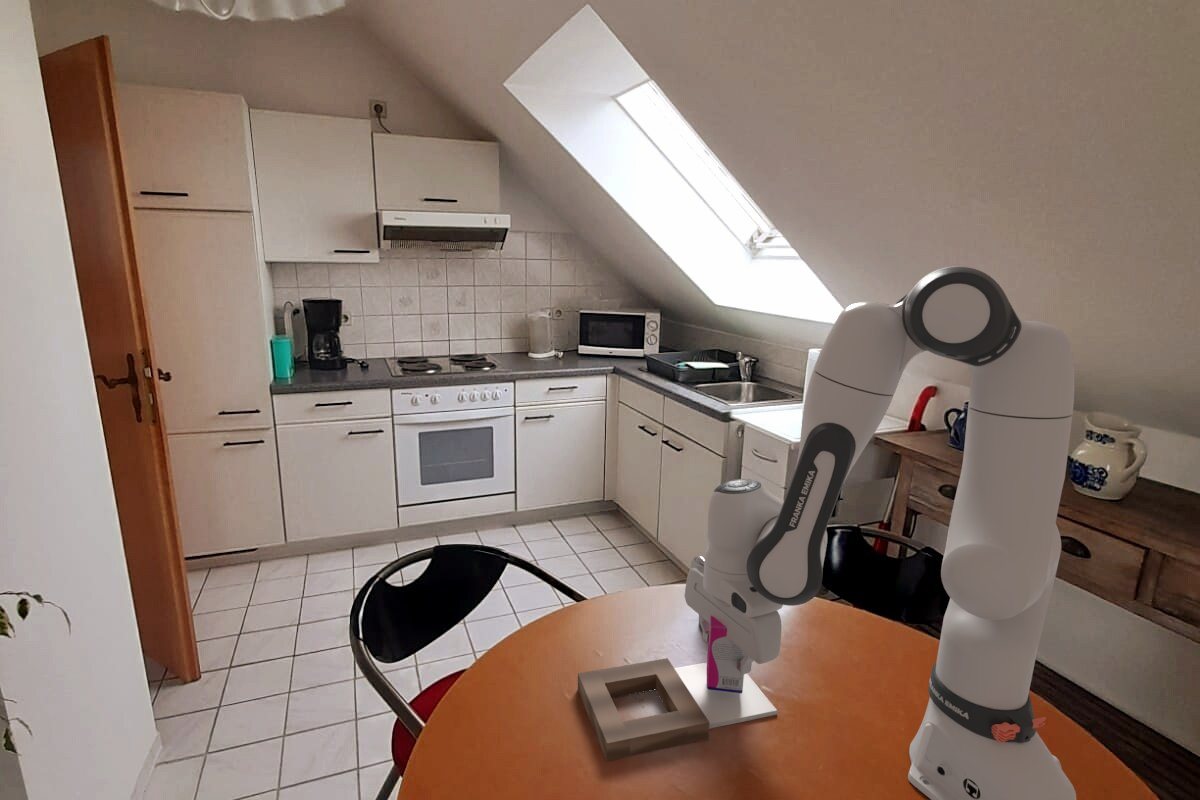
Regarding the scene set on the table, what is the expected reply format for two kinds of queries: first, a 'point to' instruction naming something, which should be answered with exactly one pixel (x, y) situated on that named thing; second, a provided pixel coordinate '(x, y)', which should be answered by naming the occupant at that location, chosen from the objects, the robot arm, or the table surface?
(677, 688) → the walnut holder
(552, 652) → the table surface
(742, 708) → the white rectangular plate
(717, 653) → the supplement box
